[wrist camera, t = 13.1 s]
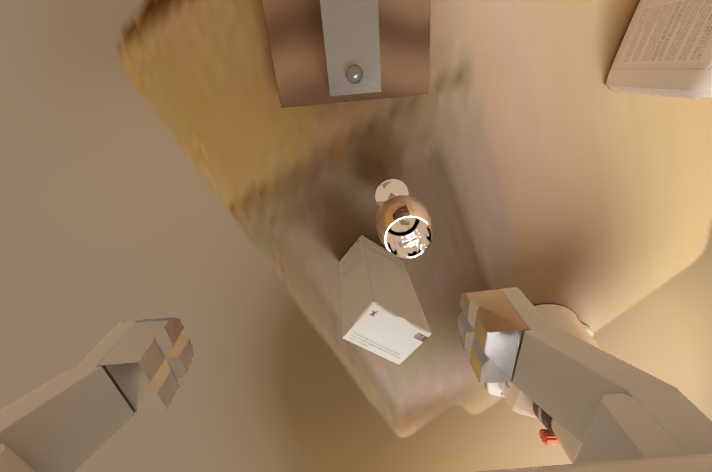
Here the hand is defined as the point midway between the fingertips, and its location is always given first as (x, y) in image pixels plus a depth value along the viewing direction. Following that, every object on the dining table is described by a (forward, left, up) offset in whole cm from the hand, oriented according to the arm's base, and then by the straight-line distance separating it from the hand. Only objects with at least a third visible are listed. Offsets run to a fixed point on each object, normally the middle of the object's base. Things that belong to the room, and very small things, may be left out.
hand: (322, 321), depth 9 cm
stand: (+10, -2, -31) cm, 33 cm away
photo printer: (+7, -33, -31) cm, 46 cm away
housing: (+10, -2, -27) cm, 29 cm away
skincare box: (-18, -3, -31) cm, 36 cm away
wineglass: (-8, -6, -31) cm, 33 cm away
